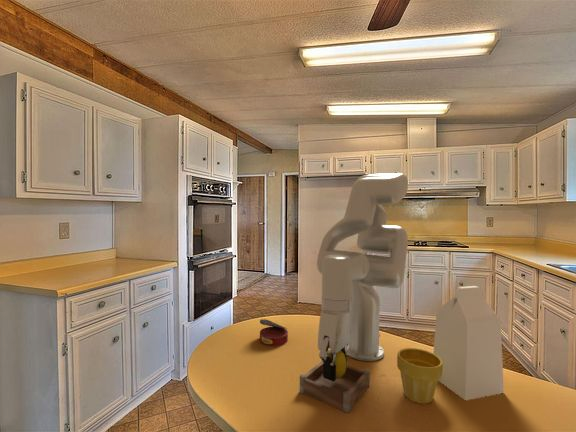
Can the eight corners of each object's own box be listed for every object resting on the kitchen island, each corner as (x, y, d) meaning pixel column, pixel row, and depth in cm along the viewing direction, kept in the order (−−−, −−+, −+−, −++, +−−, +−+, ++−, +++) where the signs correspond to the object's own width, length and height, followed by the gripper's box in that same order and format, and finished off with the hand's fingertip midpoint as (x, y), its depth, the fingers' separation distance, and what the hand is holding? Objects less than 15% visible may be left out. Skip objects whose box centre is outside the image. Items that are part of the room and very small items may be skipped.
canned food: (259, 352, 110) (252, 323, 114) (285, 344, 114) (278, 316, 118) (267, 349, 100) (260, 318, 104) (295, 341, 104) (287, 311, 108)
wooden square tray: (324, 369, 89) (324, 356, 89) (370, 385, 81) (370, 370, 81) (298, 392, 78) (298, 376, 78) (348, 413, 70) (348, 396, 70)
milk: (465, 400, 76) (468, 294, 75) (431, 375, 87) (433, 283, 86) (503, 393, 79) (506, 291, 78) (466, 370, 90) (468, 280, 89)
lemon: (346, 386, 76) (346, 354, 76) (323, 383, 77) (324, 351, 77) (346, 374, 82) (347, 344, 82) (325, 372, 83) (325, 342, 83)
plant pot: (443, 391, 79) (444, 353, 79) (439, 414, 70) (440, 371, 70) (400, 379, 84) (401, 344, 84) (392, 399, 76) (393, 360, 75)
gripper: (338, 294, 88) (337, 357, 89) (305, 309, 74) (304, 384, 75) (363, 298, 84) (362, 364, 84) (334, 316, 70) (332, 395, 70)
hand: (335, 373), depth 80 cm, fingers closed on lemon, 5 cm apart
